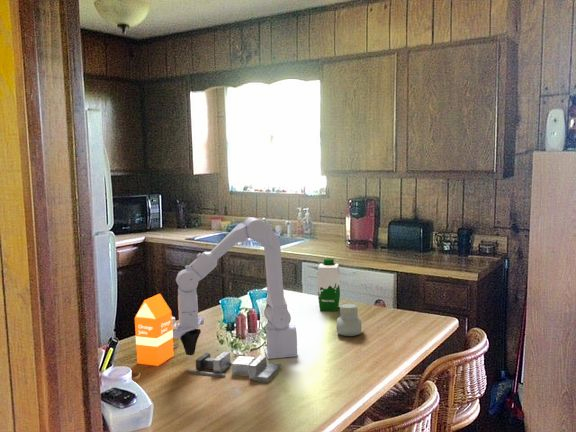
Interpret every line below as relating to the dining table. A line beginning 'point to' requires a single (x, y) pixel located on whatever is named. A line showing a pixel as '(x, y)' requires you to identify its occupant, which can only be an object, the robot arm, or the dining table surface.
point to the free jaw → (214, 362)
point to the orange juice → (154, 332)
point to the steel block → (242, 365)
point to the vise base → (254, 370)
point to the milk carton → (328, 285)
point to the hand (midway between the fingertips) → (190, 354)
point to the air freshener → (348, 320)
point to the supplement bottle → (175, 340)
